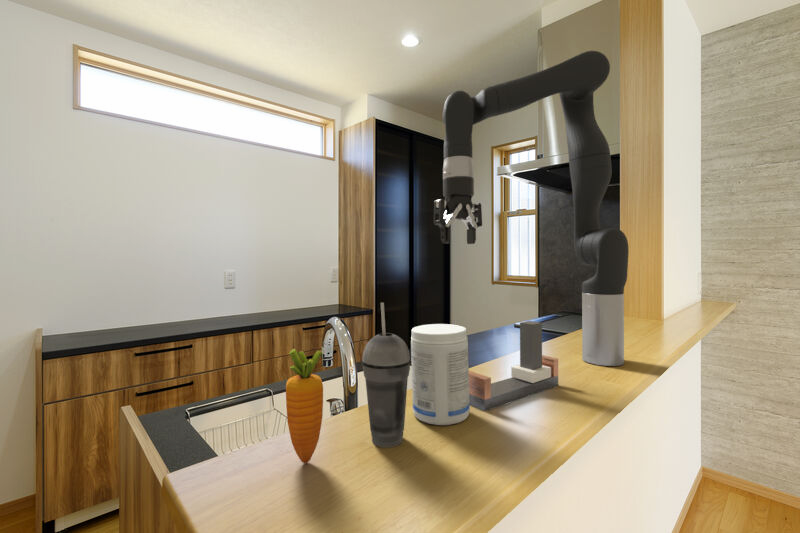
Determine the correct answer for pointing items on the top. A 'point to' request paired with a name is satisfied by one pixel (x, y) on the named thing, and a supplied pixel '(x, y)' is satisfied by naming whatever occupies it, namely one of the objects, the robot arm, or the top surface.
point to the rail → (508, 387)
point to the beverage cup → (386, 385)
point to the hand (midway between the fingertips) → (458, 243)
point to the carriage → (531, 354)
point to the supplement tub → (440, 373)
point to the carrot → (304, 405)
